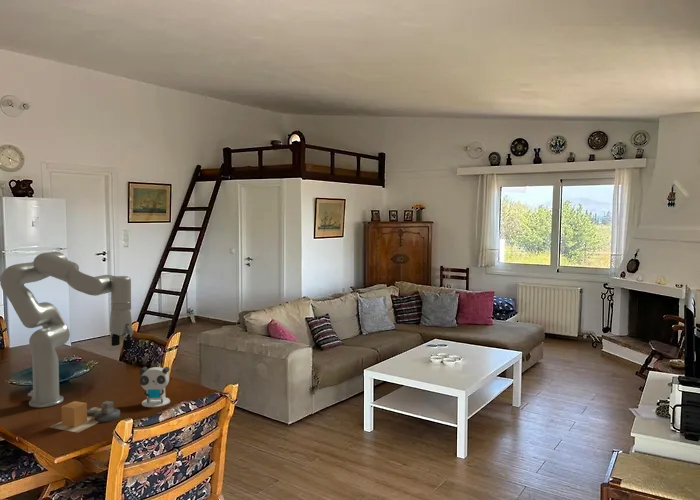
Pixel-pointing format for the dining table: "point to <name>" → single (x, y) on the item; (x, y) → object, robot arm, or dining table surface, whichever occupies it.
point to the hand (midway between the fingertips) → (121, 347)
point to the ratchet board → (93, 417)
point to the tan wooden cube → (74, 413)
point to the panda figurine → (154, 386)
